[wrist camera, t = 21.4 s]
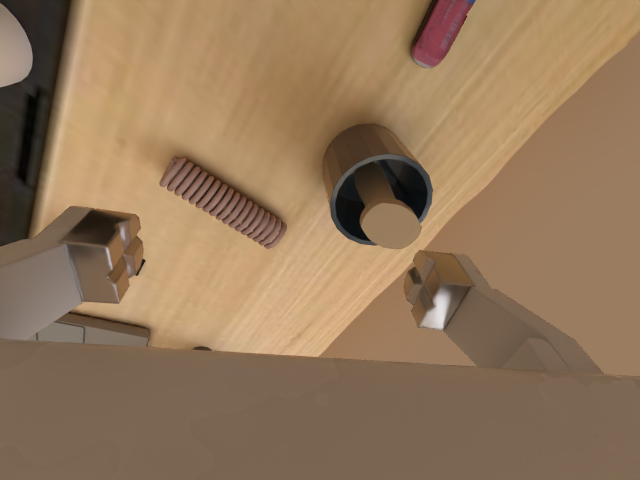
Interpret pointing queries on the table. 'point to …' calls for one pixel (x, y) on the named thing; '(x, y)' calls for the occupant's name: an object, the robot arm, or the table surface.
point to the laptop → (92, 332)
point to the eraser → (439, 30)
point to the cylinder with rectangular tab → (13, 49)
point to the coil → (222, 203)
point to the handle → (384, 210)
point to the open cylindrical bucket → (389, 156)
